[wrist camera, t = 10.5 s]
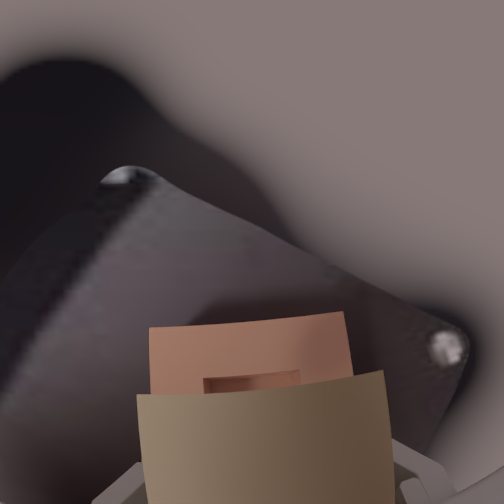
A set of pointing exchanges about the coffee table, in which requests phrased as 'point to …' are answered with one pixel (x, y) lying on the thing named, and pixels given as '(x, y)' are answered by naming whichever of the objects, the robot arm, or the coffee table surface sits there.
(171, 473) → the maple pin
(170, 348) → the terracotta socket block
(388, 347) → the coffee table surface
